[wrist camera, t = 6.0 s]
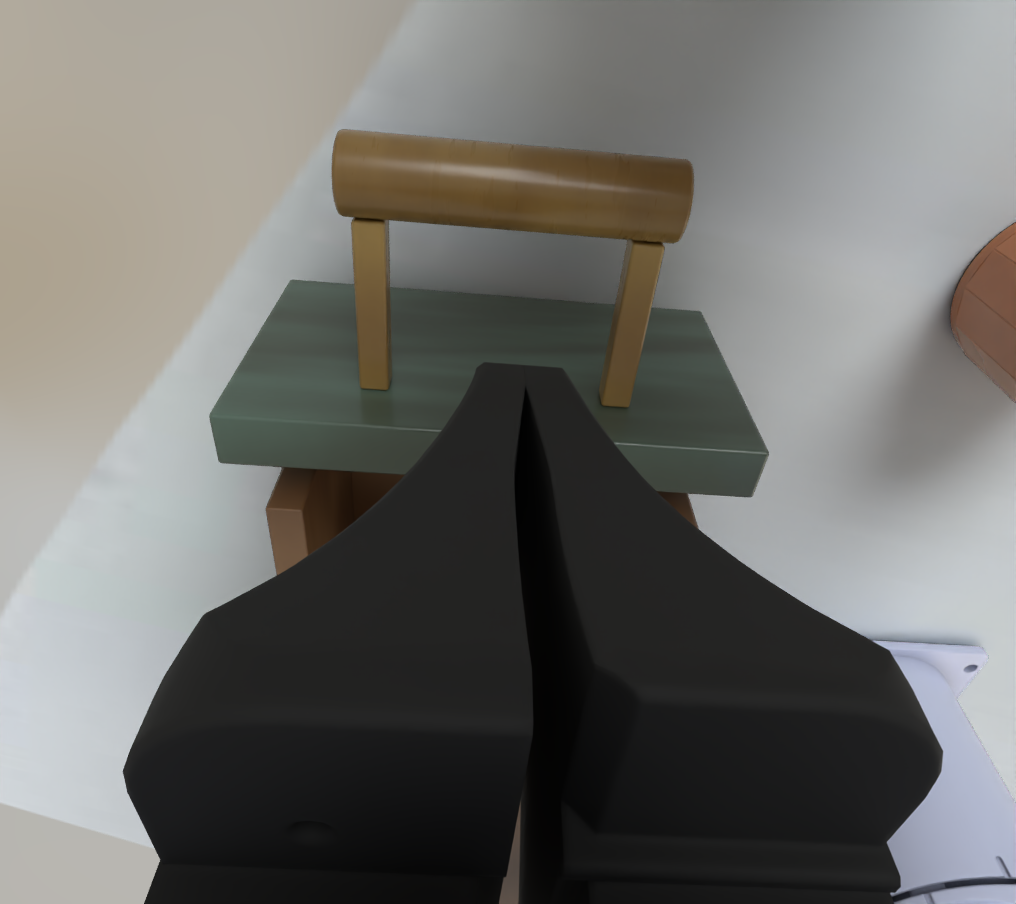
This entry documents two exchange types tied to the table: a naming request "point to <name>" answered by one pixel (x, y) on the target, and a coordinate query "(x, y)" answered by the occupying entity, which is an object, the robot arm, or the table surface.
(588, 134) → the table surface
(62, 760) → the table surface
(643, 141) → the table surface
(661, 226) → the drawer
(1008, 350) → the orange brown faceted cup
